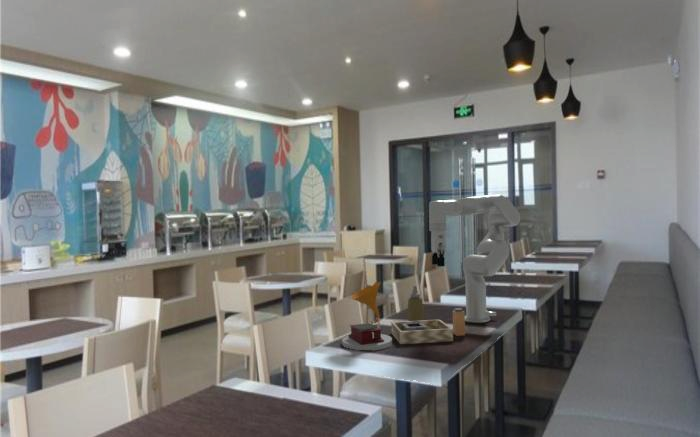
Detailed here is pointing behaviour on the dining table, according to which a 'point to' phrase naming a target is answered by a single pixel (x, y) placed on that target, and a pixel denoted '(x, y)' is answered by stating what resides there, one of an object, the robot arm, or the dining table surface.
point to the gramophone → (367, 325)
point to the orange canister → (458, 322)
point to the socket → (413, 326)
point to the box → (423, 332)
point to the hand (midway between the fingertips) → (438, 265)
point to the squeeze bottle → (415, 306)
